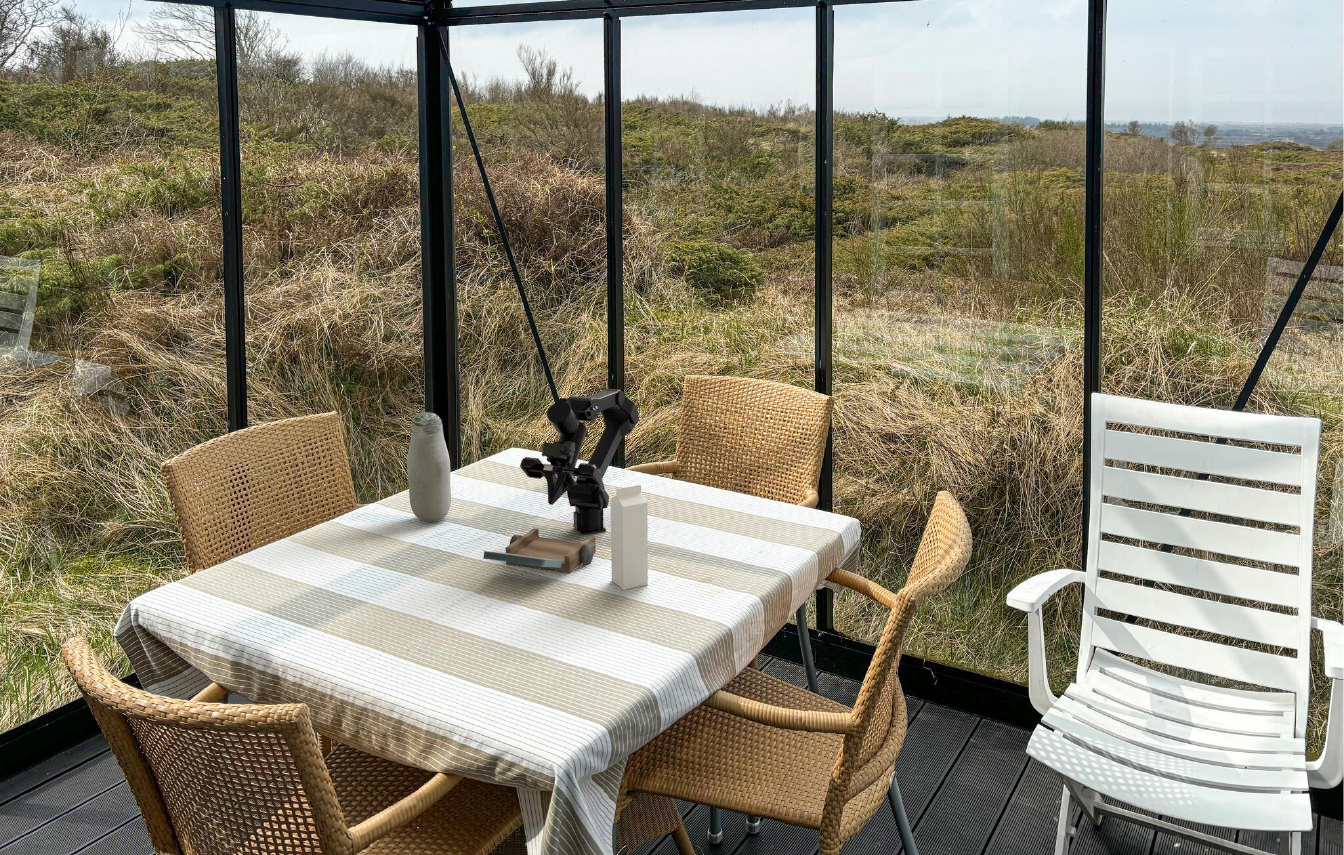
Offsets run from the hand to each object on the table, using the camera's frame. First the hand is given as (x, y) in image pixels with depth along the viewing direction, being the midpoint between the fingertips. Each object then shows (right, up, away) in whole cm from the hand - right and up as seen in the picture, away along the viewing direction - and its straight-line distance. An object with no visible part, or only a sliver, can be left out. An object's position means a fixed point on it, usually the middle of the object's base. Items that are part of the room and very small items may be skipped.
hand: (550, 503), depth 263 cm
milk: (+18, -17, -11) cm, 27 cm away
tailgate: (-3, -13, -6) cm, 14 cm away
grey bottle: (-33, -6, +29) cm, 44 cm away
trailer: (0, -13, +3) cm, 13 cm away
